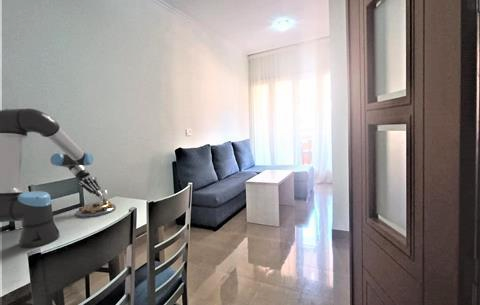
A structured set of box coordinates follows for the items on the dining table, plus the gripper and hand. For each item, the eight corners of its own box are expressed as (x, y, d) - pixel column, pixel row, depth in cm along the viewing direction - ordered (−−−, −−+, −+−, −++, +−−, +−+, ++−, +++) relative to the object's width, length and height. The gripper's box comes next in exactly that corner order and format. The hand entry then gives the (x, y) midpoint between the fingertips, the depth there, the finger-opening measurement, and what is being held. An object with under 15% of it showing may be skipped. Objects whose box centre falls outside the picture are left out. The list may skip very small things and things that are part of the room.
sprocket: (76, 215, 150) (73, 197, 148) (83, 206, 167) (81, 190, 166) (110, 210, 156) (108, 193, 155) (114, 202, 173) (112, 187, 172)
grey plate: (95, 218, 148) (95, 216, 148) (67, 216, 154) (67, 213, 154) (123, 206, 169) (123, 204, 169) (97, 205, 175) (97, 202, 175)
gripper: (86, 174, 174) (108, 199, 172) (69, 178, 162) (92, 205, 160) (91, 167, 172) (113, 192, 169) (74, 171, 160) (98, 198, 157)
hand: (103, 198), depth 165 cm, fingers closed
